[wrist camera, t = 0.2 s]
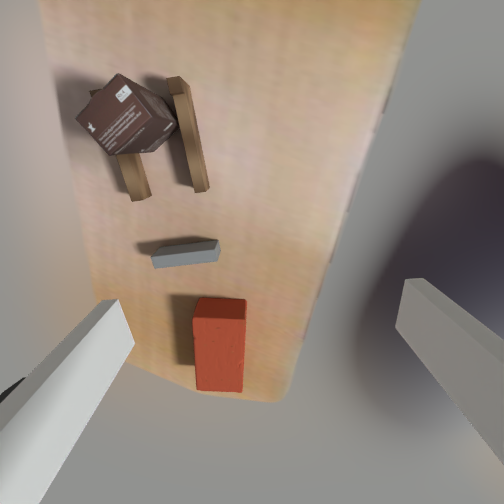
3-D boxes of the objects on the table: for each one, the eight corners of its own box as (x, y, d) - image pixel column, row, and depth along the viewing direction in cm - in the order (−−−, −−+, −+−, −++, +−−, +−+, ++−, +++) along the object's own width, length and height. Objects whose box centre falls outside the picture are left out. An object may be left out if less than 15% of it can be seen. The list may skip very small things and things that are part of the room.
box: (155, 154, 34) (108, 158, 23) (131, 125, 32) (69, 114, 21) (186, 126, 32) (152, 116, 21) (163, 95, 31) (113, 66, 20)
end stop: (160, 247, 40) (150, 257, 36) (218, 239, 39) (214, 249, 35) (163, 257, 40) (154, 268, 37) (220, 250, 40) (217, 261, 36)
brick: (199, 296, 44) (191, 317, 39) (247, 298, 44) (246, 320, 39) (202, 365, 51) (196, 391, 46) (243, 366, 51) (242, 393, 46)
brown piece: (111, 98, 31) (89, 91, 27) (189, 85, 30) (179, 75, 26) (142, 197, 36) (128, 203, 32) (209, 187, 36) (204, 192, 31)
